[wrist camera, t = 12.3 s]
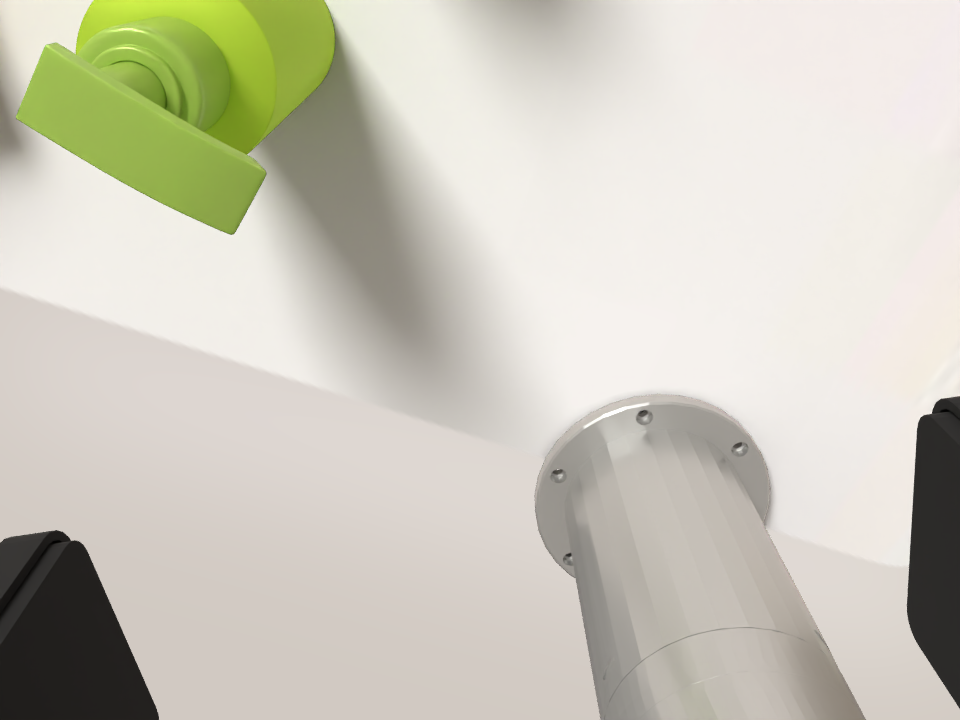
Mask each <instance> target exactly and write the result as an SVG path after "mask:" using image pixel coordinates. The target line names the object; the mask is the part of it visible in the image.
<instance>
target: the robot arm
mask: <svg viewBox="0 0 960 720" xmlns="http://www.w3.org/2000/svg"><path fill="white" fill-rule="evenodd" d="M642 410H645V411H644V412H642V413H639V412H640V411H642ZM736 443H737V444H736ZM556 469H560V470H556ZM769 497H770V483H769V476H768V469H767V467H766V464H765V462H764V459H763V457H762V454H761V452H760V450H759V449H758V447H757V445H756V444H755V442H754V440H753V439H752V437H751V436H750V434H749V433H748V432H747V431H746V430H745V429H744V428H743V427H742V425H741V424H740V423H739V422H738V421H737V420H735V419H734V418H732V417H731V416H730V415H728V414H727V413H726V412H724V411H723V410H721V409H719V408H717V407H715V406H712V405H710V404H708V403H706V402H704V401H701V400H697V399H693V398H688V397H684V396H680V395H663V394H654V395H645V396H636V397H631V398H628V399H624V400H621V401H617V402H614V403H611V404H609V405H606V406H604V407H602V408H600V409H598V410H596V411H594V412H592V413H590V414H588V415H587V416H586V417H584V418H583V419H581V420H580V421H578V422H577V423H576V424H574V425H573V426H572V427H571V428H570V429H569V430H568V431H567V432H566V433H565V434H564V435H563V436H562V437H561V438H560V439H559V440H558V441H557V442H556V443H555V445H554V446H553V448H552V449H551V451H550V452H549V454H548V455H547V457H546V458H545V461H544V463H543V465H542V468H541V470H540V473H539V475H538V479H537V485H536V490H535V512H536V518H537V524H538V530H539V533H540V535H541V537H542V540H543V542H544V544H545V547H546V549H547V550H548V551H549V553H550V554H551V556H552V557H553V559H554V560H555V561H556V563H558V564H559V565H560V566H561V567H562V568H563V569H564V570H565V571H566V572H567V573H568V574H569V575H571V576H573V577H574V578H576V583H577V588H578V594H579V599H580V605H581V611H582V616H583V622H584V628H585V634H586V639H587V645H588V651H589V656H590V661H591V667H592V673H593V679H594V685H595V690H596V696H597V702H598V707H599V713H600V718H601V720H866V719H865V717H864V715H863V713H862V711H861V709H860V708H859V706H858V704H857V702H856V700H855V698H854V696H853V694H852V692H851V690H850V689H849V687H848V685H847V683H846V681H845V679H844V677H843V675H842V674H841V672H840V671H839V669H838V666H837V665H836V662H835V660H834V659H833V656H832V654H831V652H830V650H829V648H828V646H827V645H826V643H825V641H824V639H823V637H822V635H821V633H820V631H819V629H818V627H817V625H816V623H815V622H814V620H813V618H812V616H811V614H810V612H809V610H808V608H807V606H806V604H805V602H804V601H803V599H802V597H801V595H800V593H799V591H798V589H797V587H796V585H795V583H794V581H793V580H792V578H791V576H790V574H789V572H788V570H787V568H786V566H785V564H784V562H783V560H782V559H781V557H780V555H779V553H778V551H777V549H776V547H775V546H774V544H773V541H772V540H771V538H770V536H769V534H768V532H767V530H766V528H765V526H764V524H763V523H764V520H765V516H766V513H767V510H768V507H769ZM907 615H908V620H909V624H910V628H911V631H912V633H913V636H914V638H915V640H916V642H917V643H918V645H919V647H920V648H921V650H922V651H923V653H924V654H925V656H926V658H927V659H928V661H929V662H930V664H931V665H932V667H933V668H934V670H935V671H936V673H937V674H938V676H939V678H940V679H941V681H942V682H943V684H944V685H945V687H946V688H947V690H948V691H949V693H950V694H951V696H952V697H953V699H954V700H955V702H956V704H957V705H958V707H959V708H960V396H958V397H952V398H945V399H940V400H939V401H938V402H936V404H935V406H934V408H933V411H932V414H929V415H924V416H922V417H921V418H920V420H919V422H918V428H917V442H916V459H915V476H914V494H913V511H912V528H911V545H910V563H909V580H908V597H907ZM0 720H159V716H158V712H157V709H156V706H155V704H154V702H153V700H152V697H151V695H150V693H149V691H148V688H147V686H146V684H145V681H144V679H143V677H142V675H141V672H140V670H139V668H138V665H137V663H136V661H135V659H134V656H133V654H132V652H131V649H130V647H129V645H128V643H127V640H126V638H125V636H124V634H123V631H122V629H121V627H120V624H119V622H118V620H117V618H116V615H115V613H114V611H113V609H112V606H111V604H110V602H109V600H108V597H107V595H106V593H105V590H104V588H103V586H102V584H101V581H100V579H99V577H98V574H97V572H96V570H95V568H94V565H93V563H92V561H91V559H90V556H89V554H88V552H87V550H86V548H85V547H84V545H83V544H82V543H80V542H79V541H71V540H70V538H69V537H68V536H67V535H66V534H64V533H63V532H61V531H57V530H55V531H48V532H42V533H35V534H29V535H22V536H15V537H10V538H6V539H4V540H3V541H2V542H1V543H0Z"/></svg>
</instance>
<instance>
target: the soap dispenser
mask: <svg viewBox="0 0 960 720" xmlns="http://www.w3.org/2000/svg"><path fill="white" fill-rule="evenodd" d="M334 50H335V32H334V26H333V22H332V18H331V15H330V12H329V10H328V8H327V6H326V4H325V2H324V0H94V1H93V2H92V4H91V5H90V7H89V8H88V10H87V12H86V14H85V16H84V18H83V20H82V23H81V26H80V29H79V33H78V37H77V44H76V54H74V53H73V52H71V51H69V50H68V49H66V48H65V47H63V46H61V45H60V44H58V43H52V44H48V45H45V47H44V50H43V52H42V54H41V57H40V59H39V62H38V64H37V67H36V69H35V71H34V74H33V76H32V79H31V81H30V84H29V86H28V88H27V91H26V93H25V96H24V98H23V101H22V103H21V106H20V108H19V110H18V113H17V115H16V119H17V120H19V121H21V122H22V123H24V124H25V125H27V126H29V127H30V128H32V129H34V130H35V131H37V132H38V133H40V134H42V135H43V136H45V137H47V138H48V139H50V140H52V141H53V142H55V143H56V144H58V145H60V146H61V147H63V148H65V149H66V150H68V151H70V152H71V153H73V154H75V155H76V156H78V157H80V158H81V159H83V160H85V161H86V162H88V163H90V164H91V165H93V166H95V167H96V168H98V169H100V170H102V171H103V172H105V173H107V174H109V175H110V176H112V177H114V178H116V179H117V180H119V181H121V182H123V183H124V184H126V185H128V186H130V187H132V188H134V189H135V190H137V191H139V192H141V193H143V194H145V195H147V196H148V197H150V198H152V199H154V200H156V201H158V202H160V203H162V204H164V205H166V206H168V207H170V208H172V209H174V210H177V211H179V212H181V213H183V214H185V215H187V216H189V217H191V218H194V219H196V220H198V221H200V222H202V223H205V224H207V225H209V226H211V227H213V228H216V229H218V230H220V231H223V232H225V233H228V234H231V235H232V234H234V233H235V232H236V230H237V228H238V226H239V225H240V223H241V221H242V219H243V217H244V216H245V214H246V212H247V210H248V208H249V206H250V205H251V203H252V201H253V199H254V197H255V195H256V193H257V191H258V190H259V188H260V186H261V184H262V182H263V180H264V178H265V176H266V171H265V170H264V169H263V168H262V167H261V165H260V164H259V163H258V162H257V161H256V160H254V159H253V158H251V157H250V156H248V155H247V154H248V153H249V152H250V151H251V150H253V149H254V148H255V147H256V146H257V145H258V144H259V143H260V142H261V141H262V140H263V139H264V138H265V137H266V136H267V135H268V134H269V133H270V132H271V131H272V130H273V129H275V128H276V127H277V126H278V125H279V124H280V123H281V122H282V121H283V120H284V119H285V118H286V117H287V116H288V115H289V114H290V113H291V112H292V111H293V110H294V109H296V108H297V107H298V106H299V105H300V104H301V103H302V102H303V101H304V100H305V99H306V98H307V97H308V96H309V95H310V94H311V93H312V92H313V91H314V90H315V89H316V88H317V87H318V86H319V85H320V84H321V83H322V81H323V80H324V78H325V77H326V75H327V73H328V71H329V69H330V66H331V63H332V60H333V56H334Z"/></svg>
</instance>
